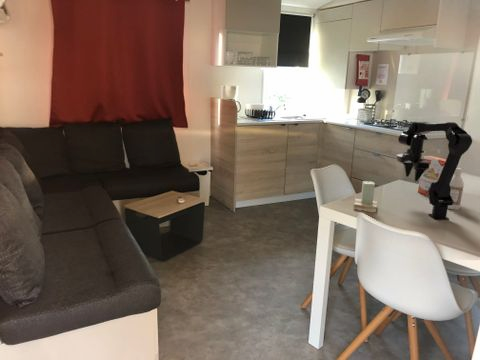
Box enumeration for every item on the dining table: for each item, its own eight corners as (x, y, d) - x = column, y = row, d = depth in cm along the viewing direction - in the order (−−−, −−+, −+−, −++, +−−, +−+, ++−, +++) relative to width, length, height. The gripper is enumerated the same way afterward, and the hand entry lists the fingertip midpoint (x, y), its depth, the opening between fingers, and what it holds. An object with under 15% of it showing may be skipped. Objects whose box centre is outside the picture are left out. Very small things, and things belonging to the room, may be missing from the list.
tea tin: (372, 204, 190) (374, 184, 187) (361, 203, 191) (363, 183, 188) (371, 201, 195) (373, 181, 192) (360, 200, 196) (362, 181, 193)
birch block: (375, 213, 188) (376, 207, 187) (353, 210, 191) (354, 204, 190) (375, 207, 197) (376, 201, 196) (354, 204, 200) (355, 198, 199)
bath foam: (443, 208, 198) (450, 168, 193) (444, 204, 204) (450, 166, 199) (459, 211, 195) (466, 170, 190) (459, 207, 201) (466, 168, 196)
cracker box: (417, 192, 225) (422, 155, 220) (424, 191, 227) (430, 155, 222) (438, 199, 213) (445, 161, 207) (446, 198, 215) (453, 160, 210)
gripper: (392, 144, 204) (387, 173, 208) (409, 150, 186) (404, 183, 190) (413, 144, 205) (408, 174, 209) (432, 151, 187) (427, 183, 191)
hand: (411, 178), depth 200 cm, fingers open, 9 cm apart
